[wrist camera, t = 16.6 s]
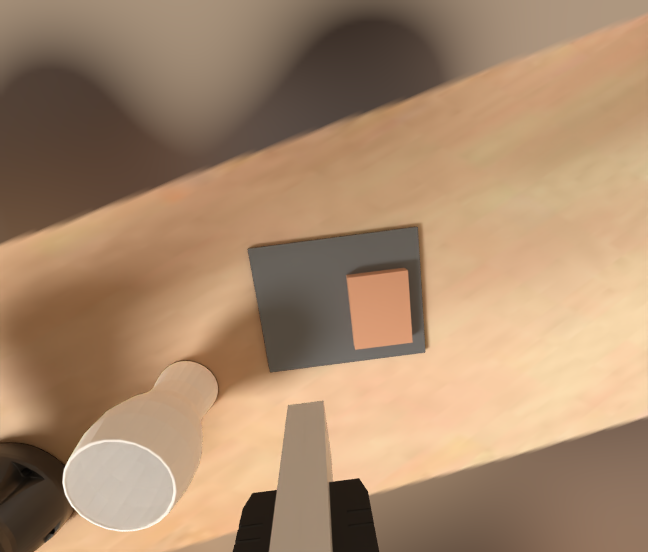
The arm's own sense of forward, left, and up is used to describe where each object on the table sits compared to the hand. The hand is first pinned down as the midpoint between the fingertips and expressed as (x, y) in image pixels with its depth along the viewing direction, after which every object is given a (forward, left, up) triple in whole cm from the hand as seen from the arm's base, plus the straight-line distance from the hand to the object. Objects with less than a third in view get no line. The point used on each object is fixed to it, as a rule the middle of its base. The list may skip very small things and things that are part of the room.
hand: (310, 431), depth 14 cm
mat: (+3, -3, -26) cm, 26 cm away
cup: (-18, -12, -26) cm, 34 cm away
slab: (+4, -4, -25) cm, 25 cm away
